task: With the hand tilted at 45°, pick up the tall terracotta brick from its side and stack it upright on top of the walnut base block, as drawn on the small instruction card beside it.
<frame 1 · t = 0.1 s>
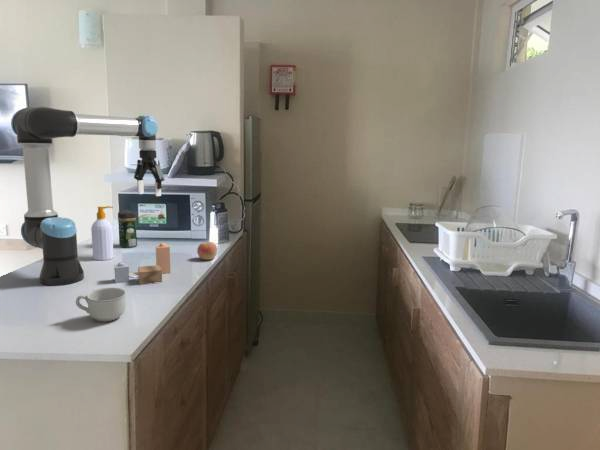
hand: (149, 195, 217), 28 cm above the worktop, tool pointing down, fingers open, 13 cm apart
terracotta brick: (163, 272, 188), on the worktop
soap bottle: (104, 258, 208), on the worktop
slate brick: (122, 280, 175), on the worktop
coffee jar: (128, 246, 233), on the worktop
instruction card: (138, 274, 184), on the worktop
teacup: (102, 318, 138), on the worktop
base block: (150, 281, 176), on the worktop
apple: (207, 259, 210), on the worktop
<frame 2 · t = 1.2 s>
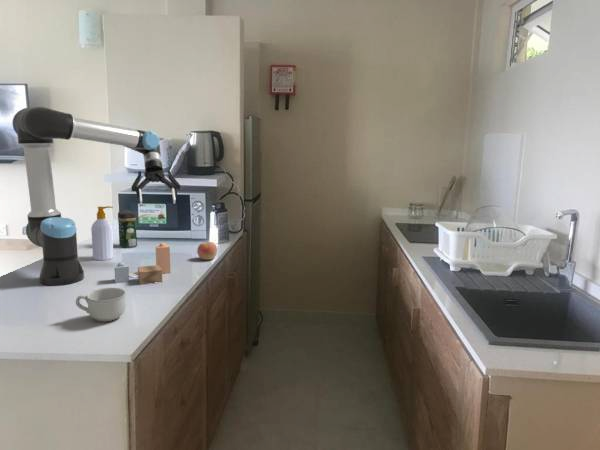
hand: (158, 202, 193), 28 cm above the worktop, tool tilted 45°, fingers open, 13 cm apart
nothing on the worktop moved.
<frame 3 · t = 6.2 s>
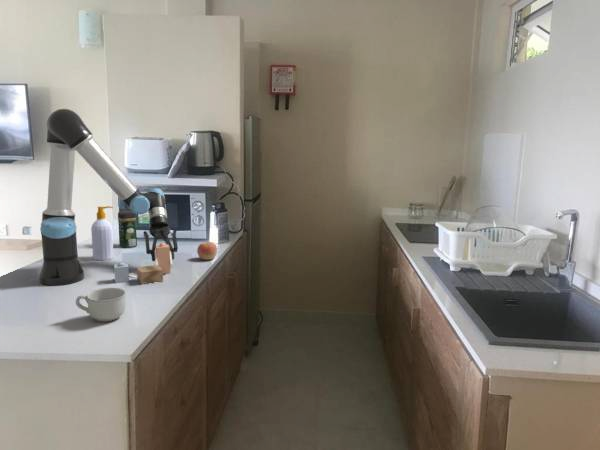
hand: (164, 266, 184), 3 cm above the worktop, tool tilted 45°, fingers closed on terracotta brick, 5 cm apart
terracotta brick: (163, 272, 188), on the worktop, touching gripper
everything else where it was.
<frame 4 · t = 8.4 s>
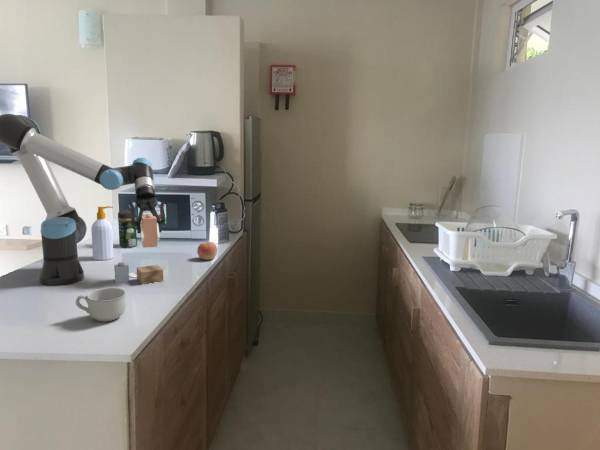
hand: (150, 239, 171), 17 cm above the worktop, tool tilted 45°, fingers closed on terracotta brick, 5 cm apart
terracotta brick: (149, 245, 175), point 14 cm above the worktop, touching gripper
everything else where it was.
when the fingers open (10 cm above the worktop, at t = 10.5 s): terracotta brick drops 2 cm, point 5 cm above the worktop.
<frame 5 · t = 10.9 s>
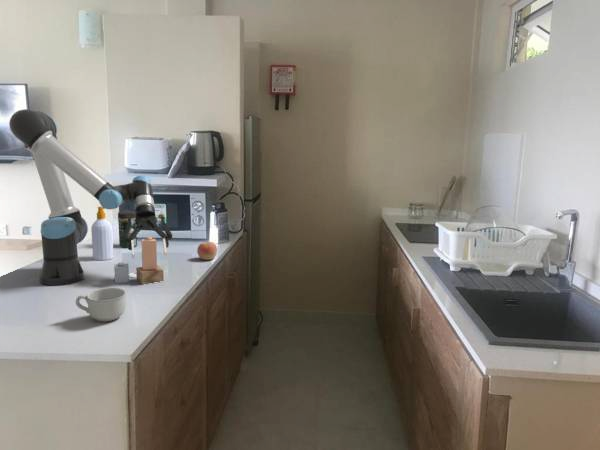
hand: (149, 255, 172), 11 cm above the worktop, tool tilted 45°, fingers open, 11 cm apart
terracotta brick: (149, 268, 175), point 5 cm above the worktop
everything else where it was.
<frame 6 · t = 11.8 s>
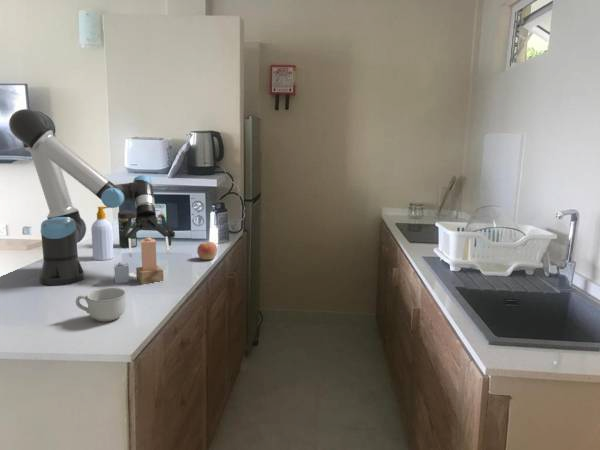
hand: (149, 253, 173), 11 cm above the worktop, tool tilted 45°, fingers open, 13 cm apart
terracotta brick: (149, 268, 175), point 5 cm above the worktop, touching base block
base block: (150, 281, 176), on the worktop, touching terracotta brick
everything else where it was.
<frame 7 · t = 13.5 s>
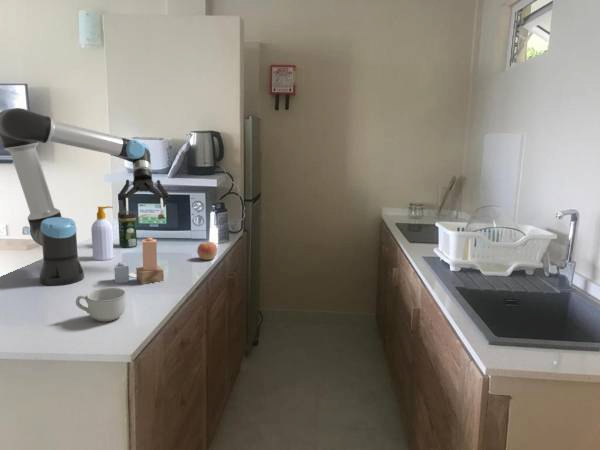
hand: (145, 212, 186), 24 cm above the worktop, tool tilted 45°, fingers open, 13 cm apart
nothing on the worktop moved.
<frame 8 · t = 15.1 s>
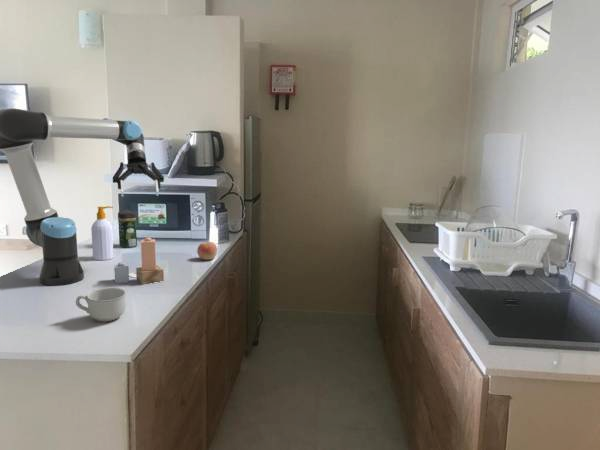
hand: (140, 194, 186), 32 cm above the worktop, tool tilted 45°, fingers open, 13 cm apart
nothing on the worktop moved.
at the end: terracotta brick 0.1 cm off-centre on the base block, point 5.0 cm above the base block's base; terracotta brick tilted 1°; the gripper is holding nothing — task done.
